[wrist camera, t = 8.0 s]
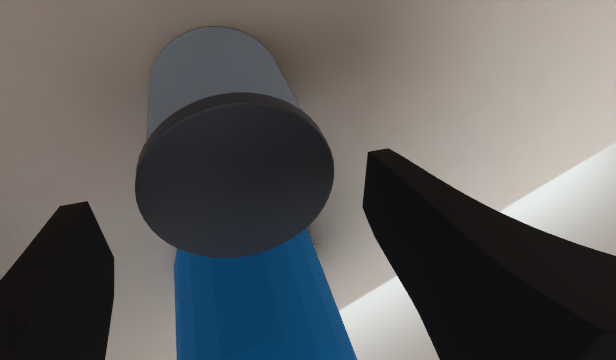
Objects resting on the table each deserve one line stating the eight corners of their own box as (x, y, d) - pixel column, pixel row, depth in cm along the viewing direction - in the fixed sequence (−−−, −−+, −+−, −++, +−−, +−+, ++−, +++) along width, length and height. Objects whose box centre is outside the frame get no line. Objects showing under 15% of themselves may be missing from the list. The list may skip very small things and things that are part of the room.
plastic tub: (198, 170, 18) (211, 283, 13) (109, 69, 14) (84, 174, 10) (307, 110, 17) (359, 203, 13) (243, -10, 14) (284, 60, 9)
